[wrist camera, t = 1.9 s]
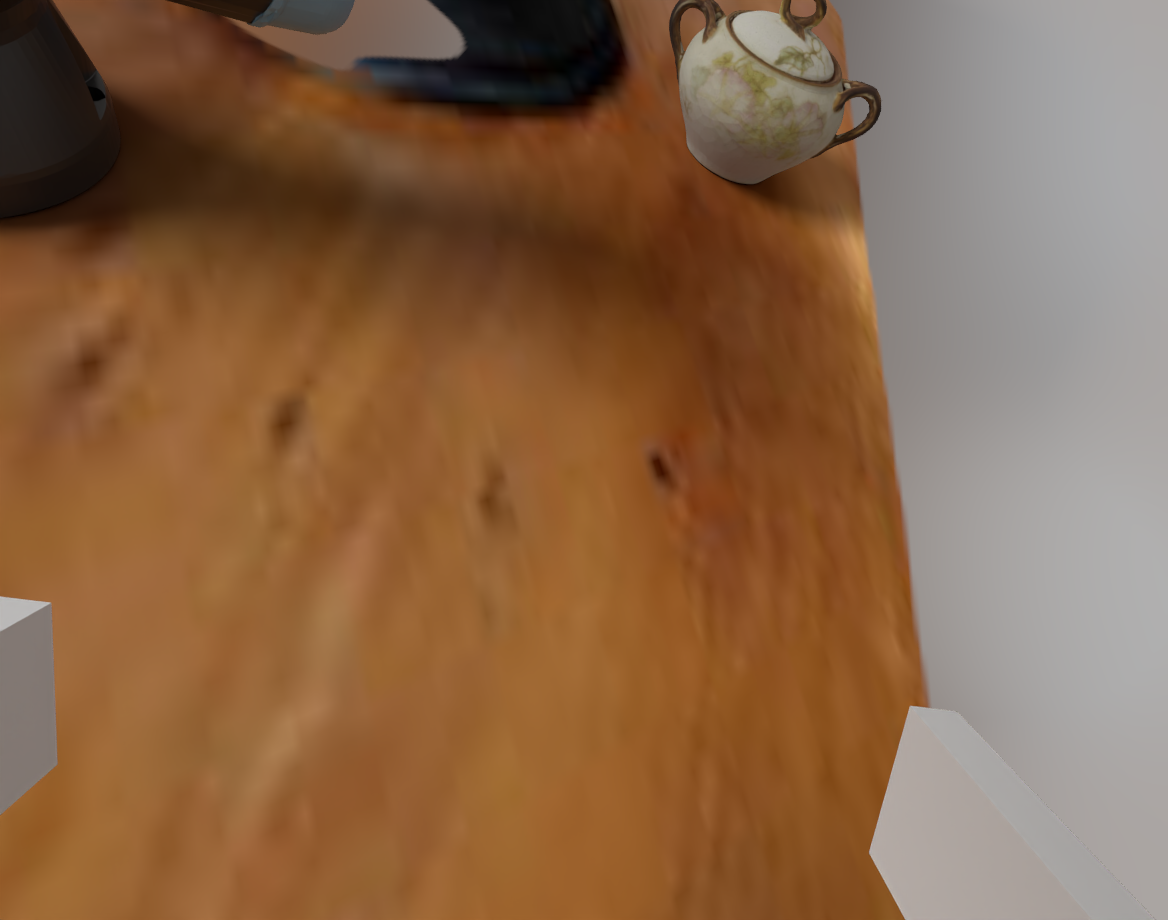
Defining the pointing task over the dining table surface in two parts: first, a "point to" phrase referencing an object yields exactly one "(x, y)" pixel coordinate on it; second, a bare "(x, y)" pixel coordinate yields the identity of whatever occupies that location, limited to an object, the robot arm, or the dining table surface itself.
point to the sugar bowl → (761, 91)
